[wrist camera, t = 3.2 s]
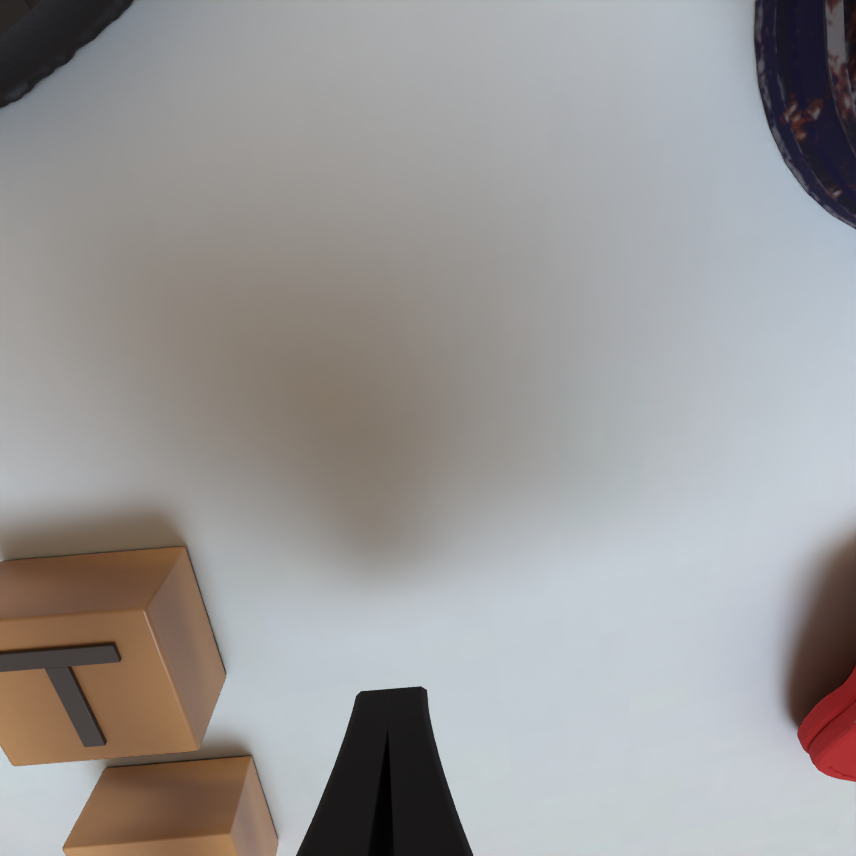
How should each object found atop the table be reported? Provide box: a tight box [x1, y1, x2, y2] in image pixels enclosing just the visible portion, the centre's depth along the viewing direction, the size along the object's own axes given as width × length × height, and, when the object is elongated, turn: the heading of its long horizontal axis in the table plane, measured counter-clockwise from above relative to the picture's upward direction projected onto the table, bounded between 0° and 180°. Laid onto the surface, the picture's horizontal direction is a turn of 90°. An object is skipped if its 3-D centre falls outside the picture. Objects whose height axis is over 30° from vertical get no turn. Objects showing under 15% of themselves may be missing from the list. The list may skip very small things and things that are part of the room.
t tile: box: [0, 547, 226, 766], centre depth 13 cm, size 5×5×2 cm
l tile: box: [63, 756, 278, 856], centre depth 16 cm, size 5×5×2 cm
